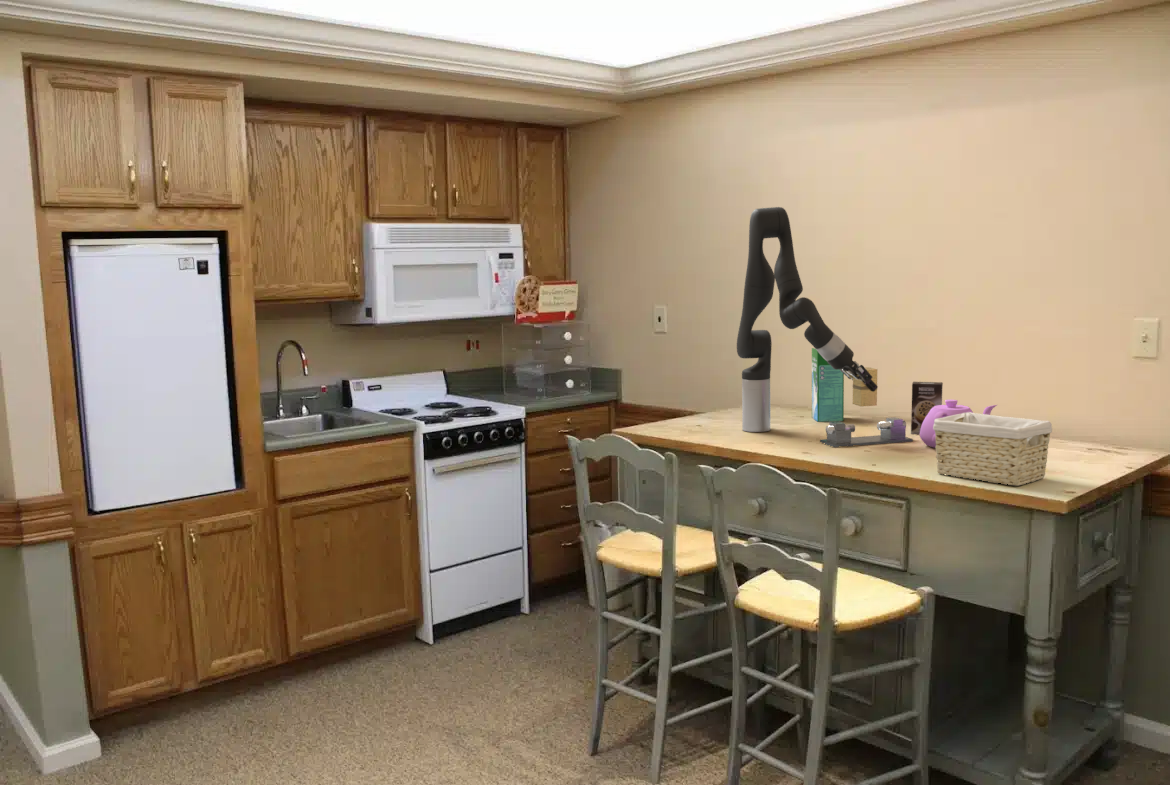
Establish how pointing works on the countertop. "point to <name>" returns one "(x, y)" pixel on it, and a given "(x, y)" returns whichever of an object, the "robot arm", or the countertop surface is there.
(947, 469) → the storage basket
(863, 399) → the block
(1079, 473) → the countertop surface
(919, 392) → the coffee box
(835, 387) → the milk carton
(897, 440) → the shaft bench
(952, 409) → the teapot
